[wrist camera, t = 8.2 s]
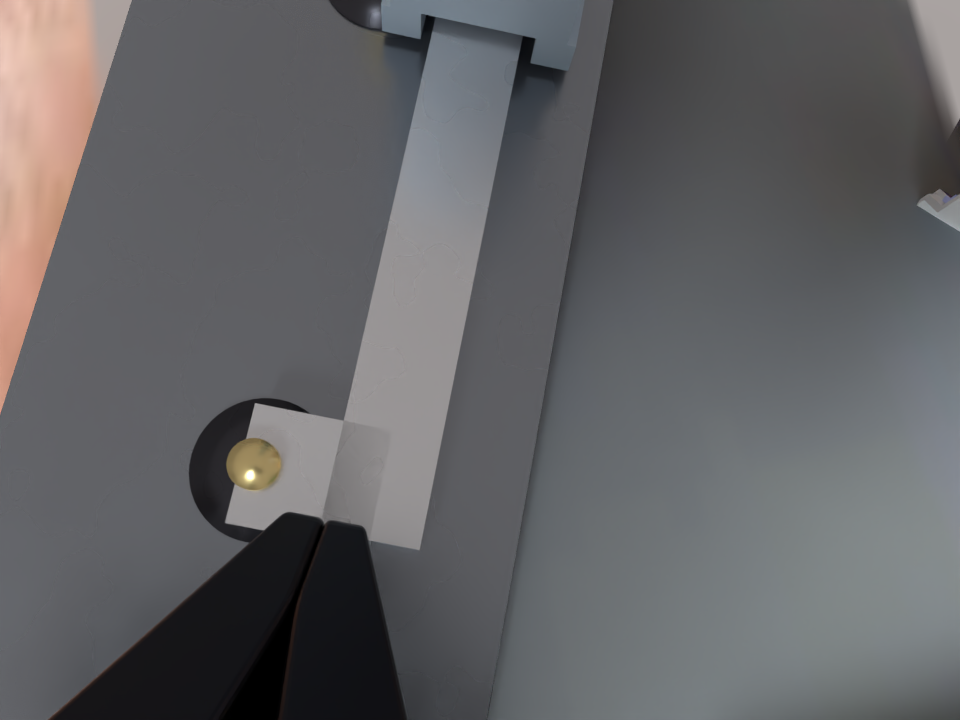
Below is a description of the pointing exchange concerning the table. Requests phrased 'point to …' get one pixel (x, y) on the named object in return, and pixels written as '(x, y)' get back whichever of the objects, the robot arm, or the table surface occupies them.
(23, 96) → the table surface
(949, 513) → the table surface
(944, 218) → the diorama
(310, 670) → the robot arm
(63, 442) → the flange plate
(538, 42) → the gray rectangular block
